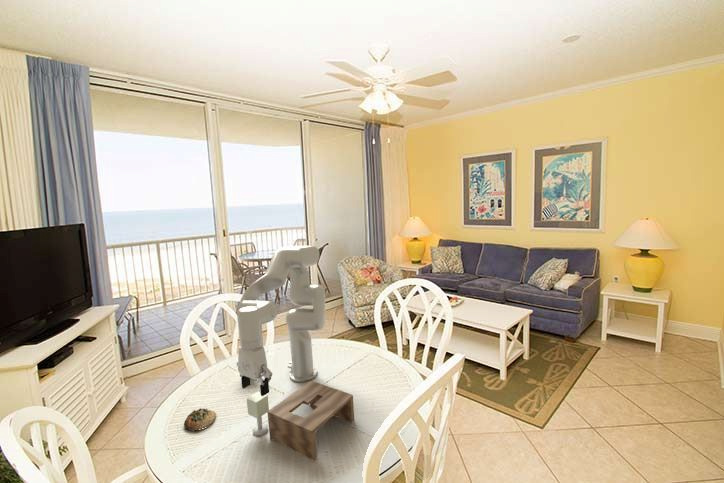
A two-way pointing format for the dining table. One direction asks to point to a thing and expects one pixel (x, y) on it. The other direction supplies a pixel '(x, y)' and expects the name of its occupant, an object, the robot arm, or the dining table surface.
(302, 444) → the keyhole shelf
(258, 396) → the peg
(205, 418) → the bread roll
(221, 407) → the dining table surface
